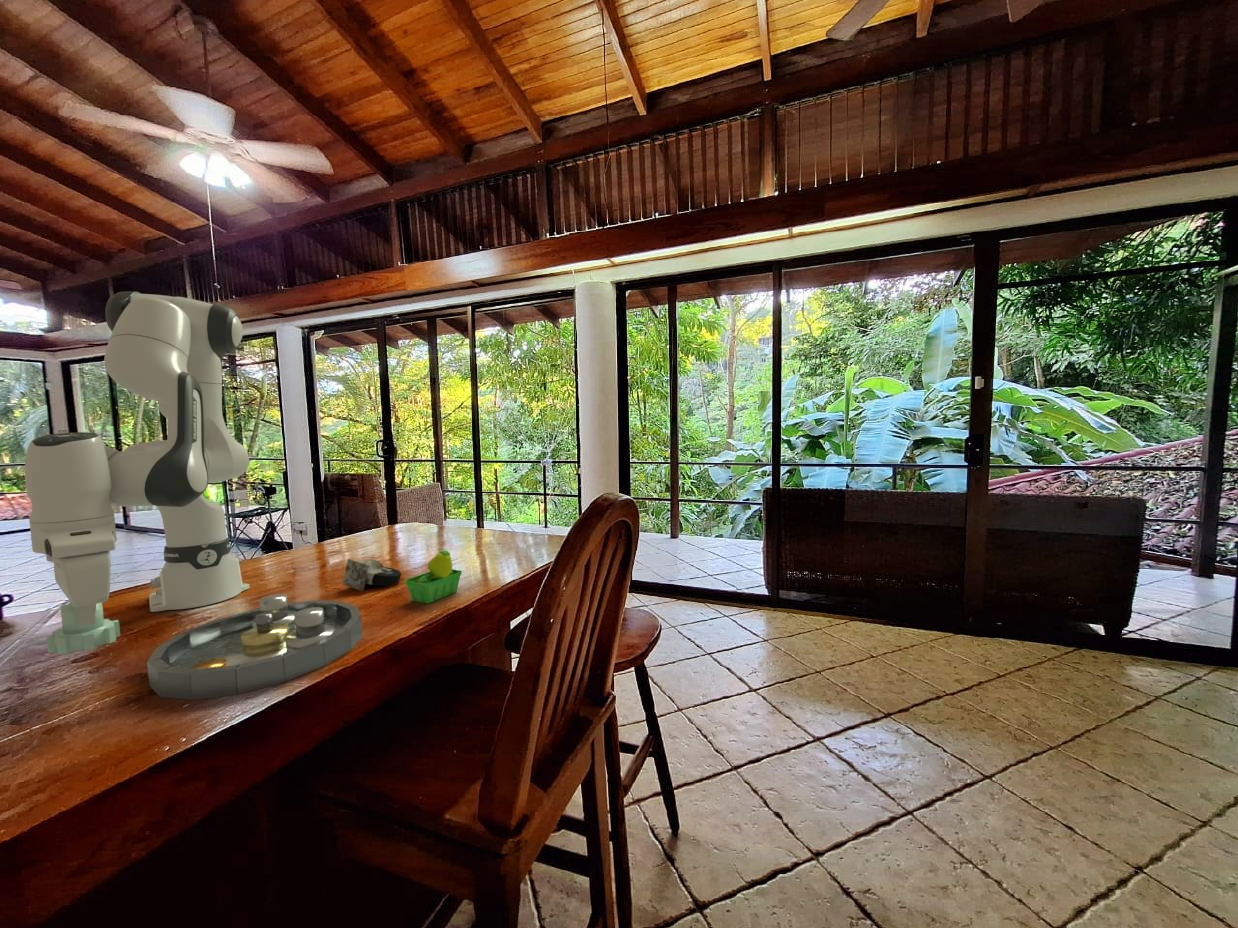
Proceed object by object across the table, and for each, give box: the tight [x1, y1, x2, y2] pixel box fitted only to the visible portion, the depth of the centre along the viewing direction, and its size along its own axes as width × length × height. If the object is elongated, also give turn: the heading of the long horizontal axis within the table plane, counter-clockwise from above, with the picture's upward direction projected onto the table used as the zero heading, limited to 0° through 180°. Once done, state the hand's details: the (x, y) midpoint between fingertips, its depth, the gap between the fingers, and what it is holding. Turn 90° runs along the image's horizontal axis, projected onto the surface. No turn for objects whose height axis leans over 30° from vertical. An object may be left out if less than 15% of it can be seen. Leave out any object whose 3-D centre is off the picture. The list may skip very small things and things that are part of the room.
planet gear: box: [46, 602, 121, 656], centre depth 77 cm, size 8×8×6 cm
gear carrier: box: [146, 593, 363, 701], centre depth 86 cm, size 30×30×8 cm
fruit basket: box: [404, 550, 463, 604], centre depth 113 cm, size 11×9×11 cm
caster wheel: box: [342, 558, 402, 592], centre depth 124 cm, size 7×11×10 cm
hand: (83, 620), depth 77 cm, fingers closed on planet gear, 4 cm apart
